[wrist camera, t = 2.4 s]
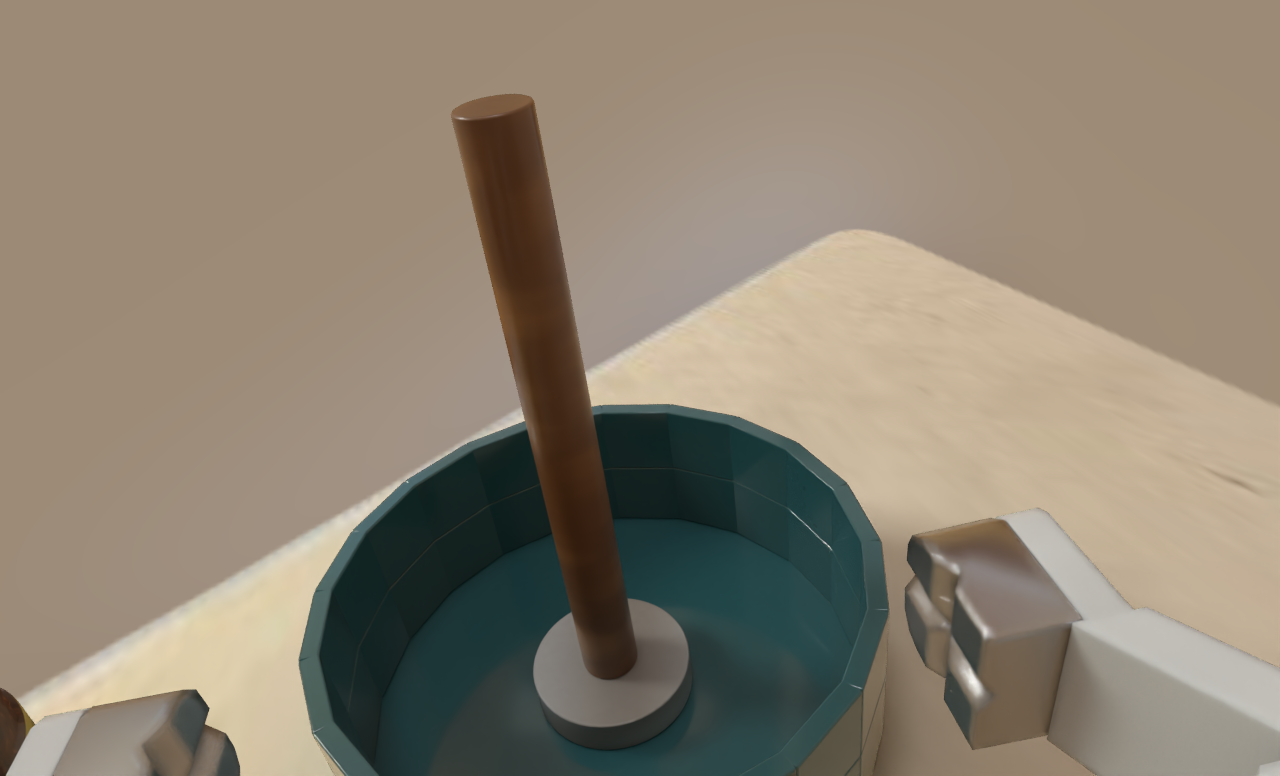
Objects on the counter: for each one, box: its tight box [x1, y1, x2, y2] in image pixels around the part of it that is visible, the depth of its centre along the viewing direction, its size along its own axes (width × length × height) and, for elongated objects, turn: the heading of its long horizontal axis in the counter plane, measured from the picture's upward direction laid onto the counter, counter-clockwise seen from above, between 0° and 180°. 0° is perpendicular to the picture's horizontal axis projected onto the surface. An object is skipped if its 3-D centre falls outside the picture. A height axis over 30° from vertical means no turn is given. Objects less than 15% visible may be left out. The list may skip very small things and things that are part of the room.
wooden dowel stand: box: [451, 94, 692, 750], centre depth 23 cm, size 5×5×19 cm
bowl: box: [299, 404, 889, 776], centre depth 27 cm, size 17×17×6 cm
